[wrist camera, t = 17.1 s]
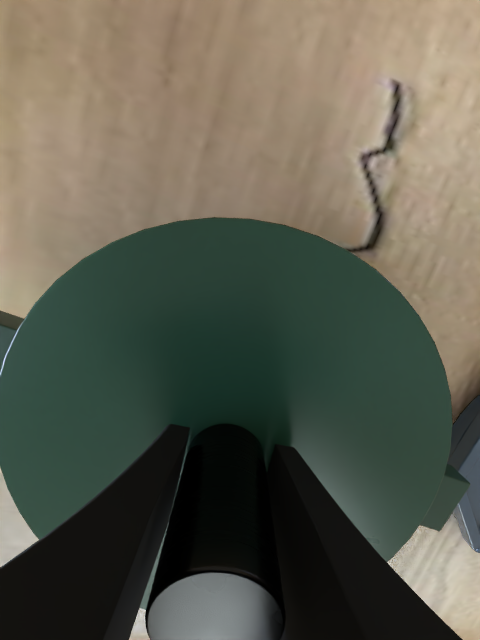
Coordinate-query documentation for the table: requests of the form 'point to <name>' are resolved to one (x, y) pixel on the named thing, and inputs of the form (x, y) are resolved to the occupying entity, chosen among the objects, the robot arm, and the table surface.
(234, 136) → the table surface
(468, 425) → the plate
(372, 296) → the lid
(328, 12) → the table surface
